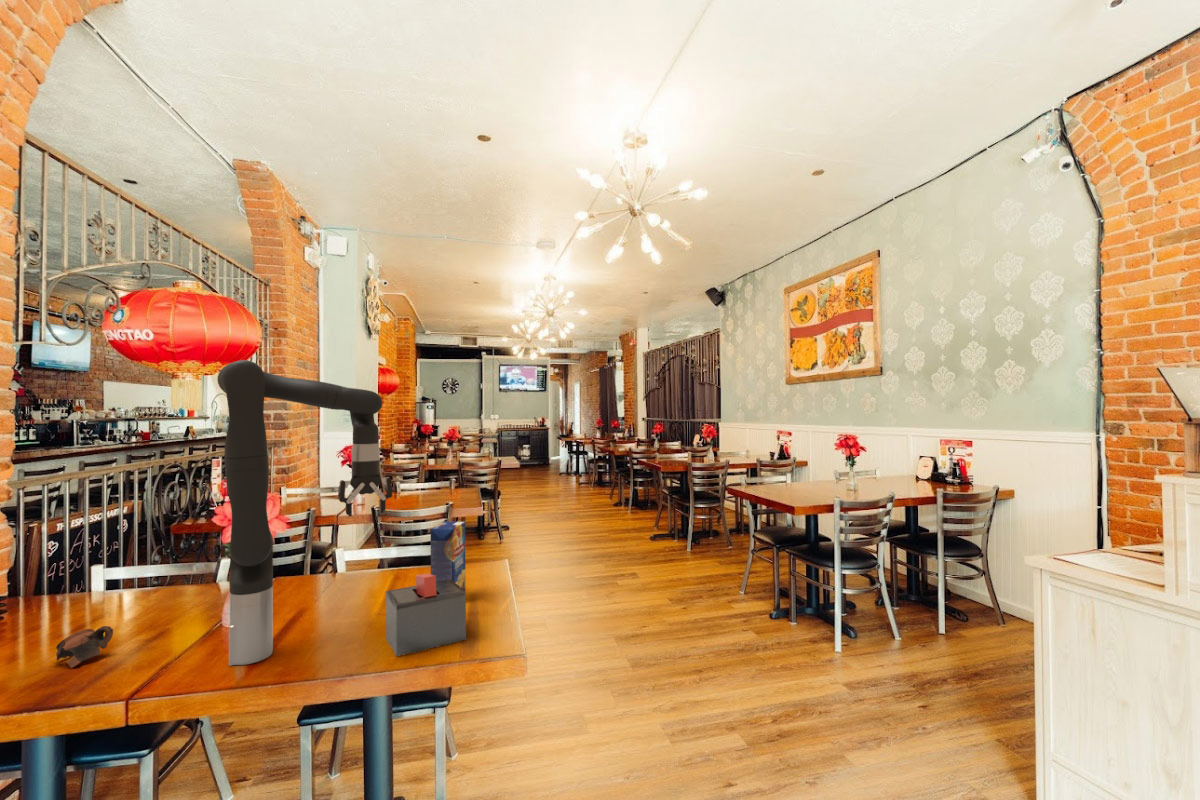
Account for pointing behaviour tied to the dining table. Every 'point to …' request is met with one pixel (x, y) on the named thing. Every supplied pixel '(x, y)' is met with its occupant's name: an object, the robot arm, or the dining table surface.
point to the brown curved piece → (83, 645)
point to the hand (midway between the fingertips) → (365, 514)
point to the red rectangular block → (426, 585)
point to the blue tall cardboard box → (448, 552)
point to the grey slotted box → (425, 618)
